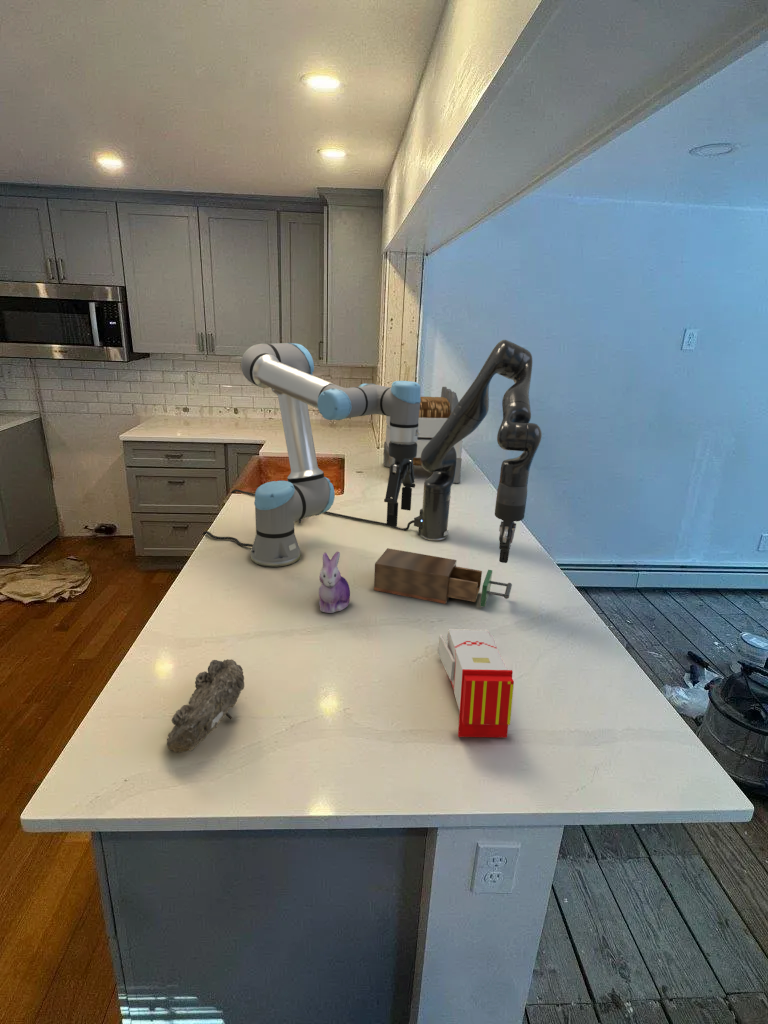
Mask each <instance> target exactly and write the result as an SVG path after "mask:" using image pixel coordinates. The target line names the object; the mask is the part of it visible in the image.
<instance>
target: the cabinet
mask: <svg viewBox="0 0 768 1024" xmlns="http://www.w3.org/2000/svg"><path fill="white" fill-rule="evenodd" d="M455 566H457V559H452V558H447V557H442V556H435V555H429V554H423V553H417V552H411V551H405V550H399V549H395V548H386V549H385V551H383V553H382V554H381V555H380V557H379V558H378V559H377V560H376V562H375V563H374V575H373V576H374V577H373V591H376V592H382V593H387V594H392V595H397V596H402V597H408V598H411V599H412V598H413V599H418V600H423V601H430V602H434V603H439V604H444V605H447V602H448V600H449V599H450V597H447V592H448V582H449V577H450V575H451V573H452V571H453V569H454V567H455Z"/></svg>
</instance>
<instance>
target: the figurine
mask: <svg viewBox="0 0 768 1024" xmlns="http://www.w3.org/2000/svg"><path fill="white" fill-rule="evenodd" d="M321 557H322V558H321V559H322V568H321V570H320V572H319V581H320V583H321V585H320V586H319V588H318V597H319V601H318V605H319V610H320V612H322V613H326V614H333V613H336V612H340V611H343V610H345V609H346V608H347V607H348V606H349V605H350V599H351V589H350V585H349V582H348V581H347V579H346V578H345V577H344V576H342V575H341V574H342V573H341V572H340V571H341V570H340V569H339V567H338V565H339V562H340V557H341V553H340V551H336V552H335V553H334V554H333V556H332V557H331V558H330V557H329V555H328V553H327V552H323V553H322V556H321Z"/></svg>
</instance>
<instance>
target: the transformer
mask: <svg viewBox="0 0 768 1024" xmlns="http://www.w3.org/2000/svg"><path fill="white" fill-rule="evenodd" d="M440 393H441V394H440V396H420V398H421V402H420V410H419V420H418V430H419V431H420V434H418V439H417V441H416V443H417V455H416V457H415V458H413V467H415V466H416V467H417V466H418V467H422V465H421V461H420V458H421V453H422V451H423V449H424V447H425V446H426V445H427V444H428V443H429V442H430V441H431V439H432V438H433V437H434V436H435V435H436V434H437V433H438V431H439V430H440V429H441V427H442V426H443V424H444V423H445V422H446V420H447V419H448V417H449V416H450V415H451V413H452V412H453V410H454V408H455V407H456V405H457V404H458V403H459V398H458V395H457V392H455V391H453V390H452V389H451V388H447V386H442V387H441V392H440ZM385 423H386V428H385V438H384V442H383V466H384V467H388V468H390V466H391V464H394V463H395V458H393V457H391V456H389V454H388V452H389V442H390V441H391V440H389V429H390V416H385ZM463 442H464V441H463V439H462V440H461V441H459V442H458V443H457V444H455V445H454V448H455V450H456V455H457V462H456V469H455V476H454V482H453V484H455V483H456V484H459V483H461V472H462V461H463V460H462V453H463Z"/></svg>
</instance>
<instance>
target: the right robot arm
mask: <svg viewBox="0 0 768 1024" xmlns="http://www.w3.org/2000/svg"><path fill="white" fill-rule="evenodd" d="M533 363H534V362H533V355H532V352H531V351H530V350H528V349H527V348H525V347H522V346H521V345H519V344H517V343H514V342H512V341H510V340H508V339H502V340H500V341H499V342H498V343H496V345H495V346H494V347H493V349H492V350H491V352H490V354H488V357H487V358H486V360H485V361H484V363H483V365H482V367H481V369H480V371H479V372H478V374H477V376H476V377H475V379H474V380H473V381H472V383H471V384H470V386H469V387H468V389H467V390H466V392H465V393H464V394H463V396H461V398H460V399H459V400H458V402H459V403H458V404H457V405H456V407H455V408H454V410H453V412H452V413H451V415H450V416H449V417H448V419H447V420H446V422H445V423H444V424H443V426H442V427H441V429H440V430H439V431H438V433H437V434H436V435H435V436H434V437H433V438H432V439H431V441H430V442H429V443H428V444H427V445H426V446H425V447H424V449H423V451H422V453H421V458H420V461H421V465H422V466H421V467H422V468H423V470H424V471H426V472H428V473H431V475H430V476H429V477H427V478H426V479H425V480H424V482H423V493H422V496H423V497H422V506H421V508H420V509H419V515H418V516H416V517H414V518H413V519H412V520H410V521H408V523H407V525H406V527H404V528H401V527H398V526H389V525H386V524H387V522H382V521H377V520H371V519H367V518H361V517H355V516H350V515H345V514H340V513H336V512H332V511H326V512H324V513H323V514H327V515H331V516H336V517H340V518H345V519H350V520H353V521H354V520H355V521H359V522H366V523H371V524H376V525H380V526H386V527H391V528H393V529H395V530H398V531H403V532H404V531H408V530H409V529H410V526H411V524H413V526H414V527H416V528H418V530H417V535H418V536H420V538H421V539H424V540H426V541H432V542H440V541H444V540H446V539H447V538H448V534H449V529H448V525H449V517H450V516H449V514H450V504H451V494H452V493H451V491H452V486H453V484H454V483H453V482H454V476H455V469H456V462H457V455H456V450H455V448H454V445H455V444H457V443H458V442H459V441H461V440H462V441H463V440H464V439H465V438H466V437H468V436H469V435H471V434H472V433H473V432H475V430H476V429H477V428H478V427H479V426H480V425H481V424H482V422H483V421H484V419H485V418H486V417H487V415H488V413H489V410H490V384H491V381H492V380H493V378H494V376H495V375H496V374H498V375H499V376H502V377H503V378H506V379H509V380H511V381H513V382H514V384H512V385H511V386H510V387H508V388H507V390H506V391H505V392H504V394H503V397H502V401H501V405H502V407H501V408H502V421H501V423H500V426H499V427H498V431H497V436H496V441H497V444H498V446H499V447H500V448H501V449H502V450H503V451H513V452H522V453H521V454H519V456H517V457H511V458H506V459H504V460H502V462H501V466H500V474H499V481H498V486H497V490H496V499H495V507H494V516H495V517H496V518H497V519H498V520H501V521H500V524H499V528H498V531H499V536H498V537H499V538H498V541H499V546H498V547H499V548H498V549H499V550H500V551H499V559H498V561H499V563H501V564H507V563H508V562H509V557H510V550H511V547H512V544H513V541H514V537H515V533H516V530H517V523H516V522H521V521H523V519H525V514H526V507H527V499H528V483H529V477H530V476H529V475H530V470H531V466H532V463H533V460H534V457H535V455H536V453H537V451H538V450H539V449H538V448H539V447H540V444H541V442H542V438H543V433H542V429H541V426H540V425H538V424H537V423H536V422H535V423H534V422H531V419H532V409H531V402H530V401H531V400H530V390H531V389H530V388H531V381H532V373H533ZM236 492H237V493H240V494H244V495H250V496H254V497H255V493H253V492H248V491H244V490H241V489H233V490H232V491H231V492H230V493H231V494H233V493H236Z"/></svg>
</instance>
